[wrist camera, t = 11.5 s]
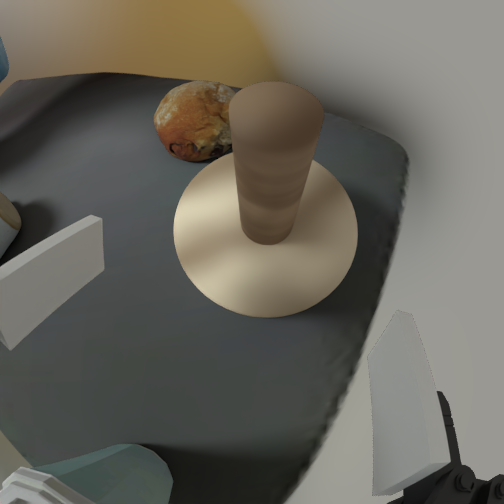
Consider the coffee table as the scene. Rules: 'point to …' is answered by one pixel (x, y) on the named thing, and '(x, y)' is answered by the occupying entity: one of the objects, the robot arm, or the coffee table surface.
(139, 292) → the coffee table surface
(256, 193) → the lid
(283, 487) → the coffee table surface
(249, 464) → the coffee table surface
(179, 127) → the bread roll
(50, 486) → the disposable coffee cup
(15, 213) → the ceramic mug
